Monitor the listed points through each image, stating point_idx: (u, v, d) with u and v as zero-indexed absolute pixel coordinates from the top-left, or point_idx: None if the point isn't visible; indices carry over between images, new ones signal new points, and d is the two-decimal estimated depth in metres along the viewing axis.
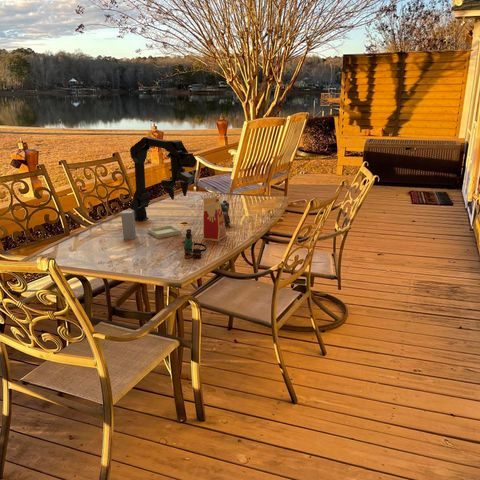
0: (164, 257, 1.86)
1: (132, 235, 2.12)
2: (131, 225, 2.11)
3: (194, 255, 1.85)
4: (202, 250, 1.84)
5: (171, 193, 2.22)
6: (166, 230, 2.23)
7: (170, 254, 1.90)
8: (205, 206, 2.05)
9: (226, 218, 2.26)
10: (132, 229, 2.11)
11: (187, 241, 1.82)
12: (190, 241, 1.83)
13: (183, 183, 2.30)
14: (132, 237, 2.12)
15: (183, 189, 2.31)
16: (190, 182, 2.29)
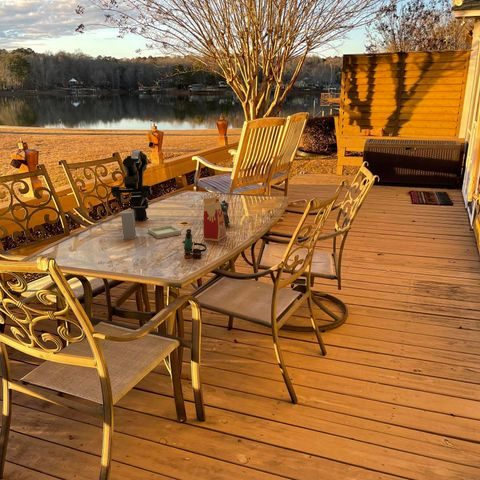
0: (164, 257, 1.86)
1: (132, 235, 2.12)
2: (131, 225, 2.11)
3: (194, 255, 1.85)
4: (202, 250, 1.84)
5: None
6: (166, 230, 2.23)
7: (170, 254, 1.90)
8: (205, 206, 2.05)
9: (225, 218, 2.26)
10: (132, 229, 2.11)
11: (187, 241, 1.82)
12: (190, 241, 1.83)
13: None
14: (132, 237, 2.12)
15: None
16: (143, 189, 2.19)
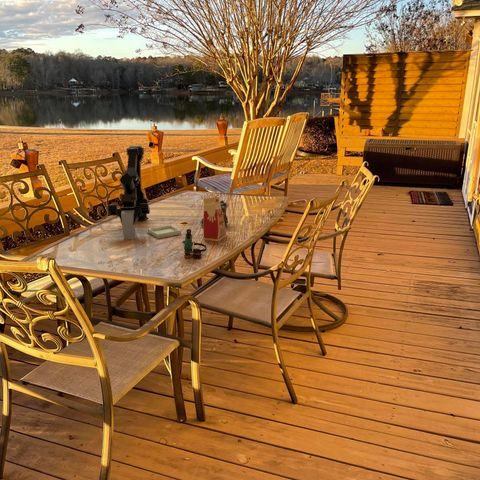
0: (165, 257, 1.86)
1: (132, 235, 2.12)
2: (131, 225, 2.11)
3: (194, 255, 1.85)
4: (202, 250, 1.84)
5: (120, 218, 2.13)
6: (166, 230, 2.23)
7: (171, 254, 1.90)
8: (205, 206, 2.05)
9: (224, 218, 2.26)
10: (132, 229, 2.11)
11: (187, 241, 1.82)
12: (190, 241, 1.83)
13: None
14: (132, 237, 2.12)
15: None
16: (136, 208, 2.12)
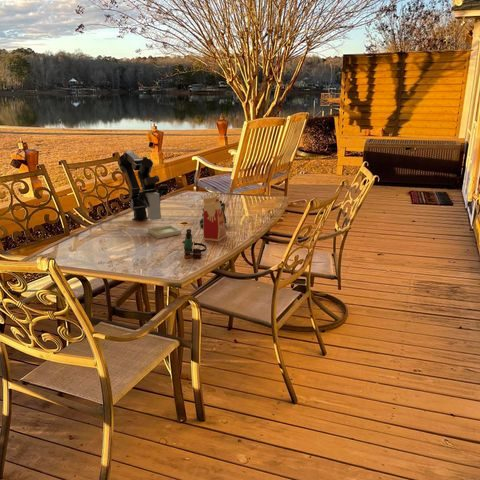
0: (166, 257, 1.86)
1: (159, 215, 2.23)
2: (158, 206, 2.22)
3: (194, 255, 1.85)
4: (202, 250, 1.84)
5: (145, 200, 2.21)
6: (166, 230, 2.23)
7: (172, 254, 1.90)
8: (205, 206, 2.05)
9: None
10: (159, 209, 2.23)
11: (187, 241, 1.82)
12: (190, 241, 1.83)
13: None
14: (159, 217, 2.24)
15: None
16: (159, 189, 2.24)
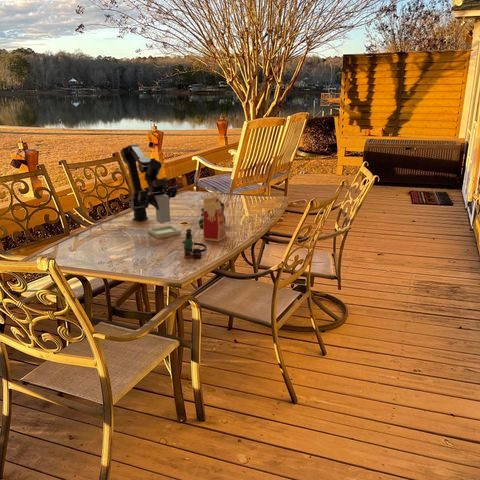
0: (166, 257, 1.86)
1: (168, 218, 2.17)
2: (168, 208, 2.15)
3: (194, 255, 1.85)
4: (202, 250, 1.84)
5: (154, 203, 2.14)
6: (166, 230, 2.23)
7: (172, 254, 1.89)
8: (205, 206, 2.05)
9: None
10: (168, 212, 2.16)
11: (187, 241, 1.82)
12: (190, 241, 1.83)
13: None
14: (168, 220, 2.17)
15: None
16: (168, 191, 2.17)
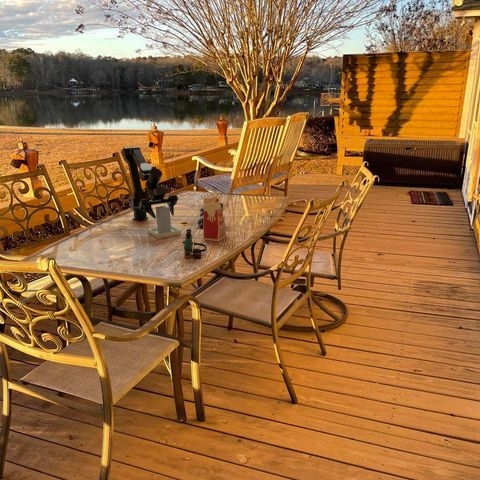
0: (167, 257, 1.86)
1: (169, 229, 2.18)
2: (168, 219, 2.17)
3: (194, 255, 1.85)
4: (202, 250, 1.84)
5: (151, 212, 2.14)
6: None
7: (172, 254, 1.89)
8: (205, 206, 2.05)
9: None
10: (169, 223, 2.17)
11: (187, 241, 1.82)
12: (190, 241, 1.83)
13: (169, 205, 2.22)
14: (169, 231, 2.18)
15: (170, 210, 2.20)
16: (172, 199, 2.20)
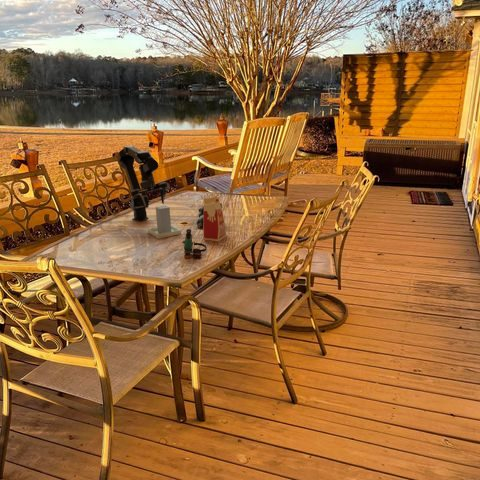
0: (167, 257, 1.86)
1: (169, 229, 2.18)
2: (168, 219, 2.17)
3: (194, 255, 1.85)
4: (202, 250, 1.84)
5: None
6: None
7: (173, 254, 1.89)
8: (205, 206, 2.05)
9: None
10: (169, 223, 2.17)
11: (187, 241, 1.82)
12: (190, 241, 1.83)
13: None
14: (169, 231, 2.18)
15: None
16: (161, 189, 2.24)
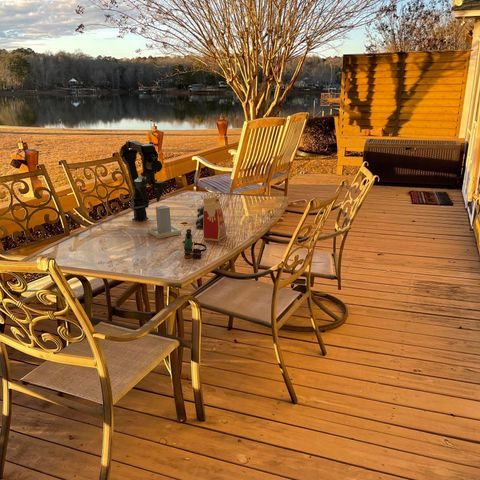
0: (168, 257, 1.86)
1: (169, 229, 2.18)
2: (168, 219, 2.17)
3: (194, 255, 1.85)
4: (202, 250, 1.84)
5: None
6: None
7: (174, 254, 1.89)
8: (205, 206, 2.05)
9: None
10: (169, 223, 2.17)
11: (187, 241, 1.82)
12: (190, 241, 1.83)
13: None
14: (169, 231, 2.18)
15: None
16: (154, 189, 2.23)
